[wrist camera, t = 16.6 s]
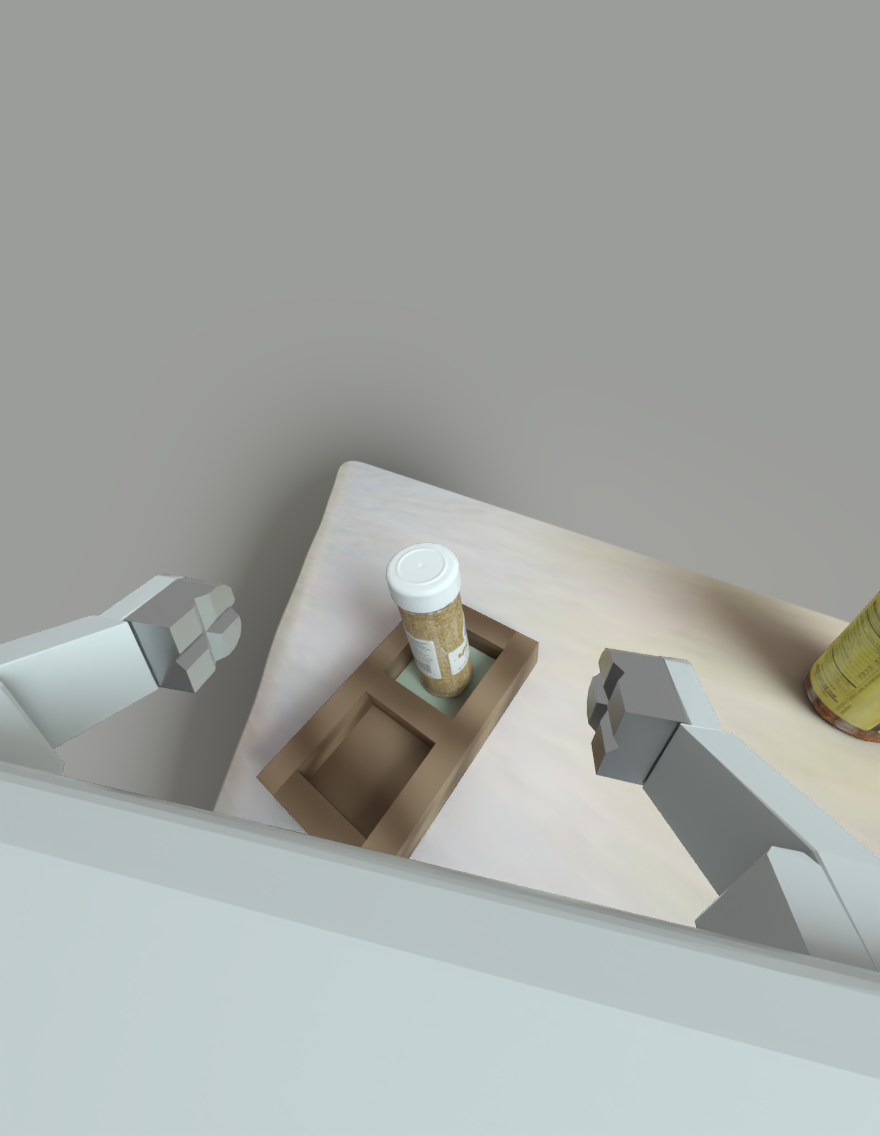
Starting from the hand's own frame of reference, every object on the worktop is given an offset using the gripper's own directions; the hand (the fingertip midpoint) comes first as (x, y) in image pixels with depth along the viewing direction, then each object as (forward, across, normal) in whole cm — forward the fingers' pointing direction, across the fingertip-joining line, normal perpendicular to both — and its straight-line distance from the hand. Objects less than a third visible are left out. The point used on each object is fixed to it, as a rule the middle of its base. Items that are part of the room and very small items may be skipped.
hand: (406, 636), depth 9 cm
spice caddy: (+14, -3, -22) cm, 26 cm away
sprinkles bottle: (+18, -1, -20) cm, 27 cm away
